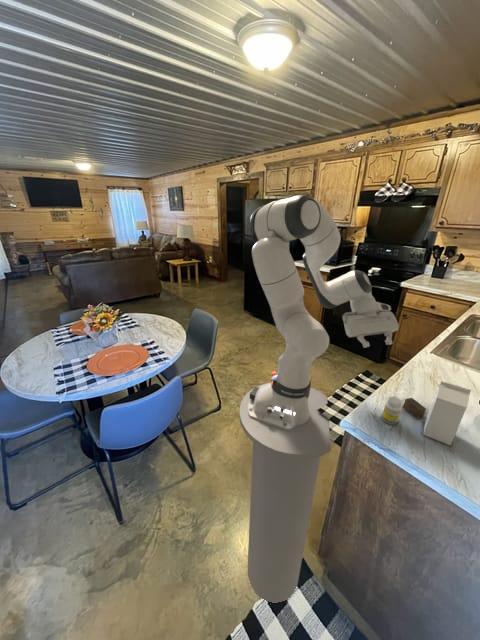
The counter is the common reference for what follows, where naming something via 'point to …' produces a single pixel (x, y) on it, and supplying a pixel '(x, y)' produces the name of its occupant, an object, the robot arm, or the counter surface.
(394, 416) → the supplement bottle
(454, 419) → the milk carton
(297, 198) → the robot arm
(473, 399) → the counter surface
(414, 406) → the brown wooden block
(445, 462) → the counter surface
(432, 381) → the counter surface
